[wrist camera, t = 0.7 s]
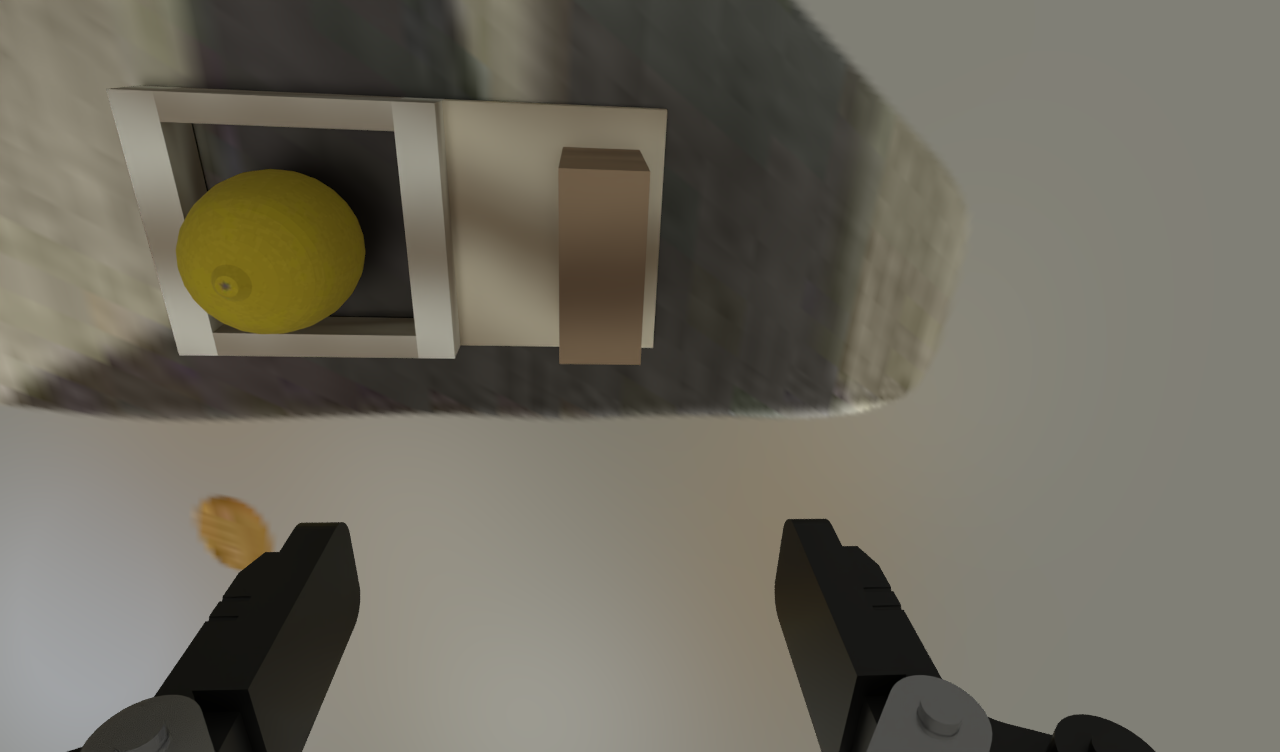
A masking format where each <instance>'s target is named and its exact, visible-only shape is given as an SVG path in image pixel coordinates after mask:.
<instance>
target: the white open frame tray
mask: <svg viewBox="0 0 1280 752" xmlns="http://www.w3.org/2000/svg"><path fill="white" fill-rule="evenodd" d="M106 91H107V95H108V98H109V102H110V106H111V109H112V113H113V116H114V120H115V124H116V127H117V131H118V135H119V138H120V142H121V145H122V149H123V153H124V156H125V160H126V164H127V167H128V171H129V174H130V178H131V182H132V185H133V189H134V193H135V196H136V200H137V203H138V207H139V211H140V214H141V218H142V222H143V225H144V229H145V232H146V236H147V240H148V243H149V247H150V251H151V254H152V258H153V262H154V265H155V269H156V272H157V276H158V280H159V283H160V287H161V291H162V294H163V298H164V301H165V305H166V309H167V312H168V316H169V320H170V323H171V327H172V330H173V334H174V338H175V341H176V345H177V349H178V352H179V355H207V356H288V357H370V358H451V359H455V357H456V355H457V352H458V350H459V347H460V345H479V346H551V347H559V364H613V365H640V363H641V348H653V339H654V322H655V305H656V289H657V272H658V256H659V239H660V222H661V206H662V189H663V172H664V156H665V139H666V123H667V110H666V109H659V108H636V107H613V106H591V105H568V104H546V103H523V102H500V101H478V100H455V99H432V98H410V97H387V96H364V95H342V94H319V93H296V92H274V91H251V90H229V89H206V88H183V87H161V86H131V87H121V88H111V89H106ZM191 123H202V124H227V125H252V126H277V127H302V128H327V129H352V130H377V131H394V133H395V142H396V152H397V161H398V171H399V180H400V189H401V199H402V208H403V218H404V227H405V236H406V246H407V255H408V265H409V274H410V284H411V293H412V302H413V312H414V318H376V317H326V318H324V319H323V320H321V321H319V322H318V323H316V324H314V325H312V326H310V327H307V328H303V329H300V330H296V331H292V332H289V333H284V334H256V333H251V332H245V331H241V330H238V329H236V328H233V327H231V326H229V325H226V324H224V323H222V322H220V321H219V320H217V319H215V318H214V317H212V316H211V315H209V314H208V313H206V312H205V311H204V310H203V309H202V308H201V307H200V306H199V305H198V304H197V303H196V302H195V301H194V300H193V298H192V297H191V295H190V294H189V292H188V291H187V289H186V288H185V286H184V284H183V281H182V278H181V276H180V273H179V270H178V267H177V258H176V245H177V240H178V235H179V230H180V227H181V225H182V223H183V222H184V220H185V218H186V216H187V214H188V213H189V211H190V209H191V208H192V206H193V205H194V204H195V203H196V202H197V201H198V200H199V199H200V198H201V197H202V196H203V195H204V194H206V193H207V189H206V185H205V181H204V176H203V172H202V167H201V163H200V159H199V154H198V150H197V146H196V141H195V137H194V133H193V128H192V124H191Z"/></svg>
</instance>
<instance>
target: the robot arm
mask: <svg viewBox="0 0 1280 752" xmlns="http://www.w3.org/2000/svg"><path fill="white" fill-rule="evenodd" d="M775 604H776V611H777V615H778V619H779V622H780V625H781V628H782V631H783V634H784V637H785V640H786V643H787V647H788V649H789V653H790V655H791V659H792V662H793V665H794V668H795V671H796V674H797V677H798V680H799V683H800V687H801V690H802V693H803V696H804V698H805V702H806V705H807V708H808V711H809V714H810V717H811V720H812V723H813V726H814V730H815V733H816V736H817V739H818V742H819V745H820V748H821V751H822V752H1155V751H1154V750H1153V749H1152V748H1151V747H1150V746H1149V745H1148V744H1147V743H1146V742H1144V741H1143V740H1142V739H1141V738H1140V737H1138V736H1137V735H1135V734H1134V733H1132V732H1131V731H1129V730H1128V729H1126V728H1124V727H1122V726H1120V725H1118V724H1116V723H1114V722H1112V721H1110V720H1107V719H1103V718H1101V717H1097V716H1092V715H1084V714H1082V715H1072V716H1068V717H1066V718H1064V719H1062V720H1061V721H1060V722H1059V723H1058V725H1057V727H1056V729H1055V731H1054V733H1053V735H1050V734H1045V733H1042V732H1038V731H1034V730H1030V729H1026V728H1022V727H1018V726H1014V725H1010V724H1006V723H1003V722H1000V721H997V720H994V719H992V718H989V717H987V715H986V713H985V711H984V710H983V709H982V708H981V706H980V705H979V704H978V703H977V702H976V700H975V699H974V698H973V697H971V696H970V695H969V694H968V693H967V692H965V691H964V690H962V689H961V688H959V687H958V686H956V685H954V684H952V683H950V682H948V681H946V680H943V679H942V678H941V677H940V675H939V673H938V671H937V669H936V667H935V666H934V664H933V662H932V660H931V658H930V657H929V655H928V653H927V651H926V650H925V648H924V646H923V644H922V642H921V641H920V639H919V637H918V635H917V633H916V631H915V630H914V628H913V626H912V624H911V622H910V621H909V619H908V617H907V615H906V613H905V612H904V610H901V604H900V603H899V601H898V599H897V597H896V595H895V594H894V592H893V591H891V587H890V584H889V583H888V581H887V579H886V577H885V576H884V574H883V572H882V570H881V568H880V566H879V565H878V564H877V563H876V562H875V561H873V560H872V559H871V558H870V557H869V556H868V555H867V554H866V553H864V552H863V551H862V550H861V549H860V548H859V547H858V546H842V545H841V543H840V541H839V539H838V537H837V535H836V533H835V531H834V529H833V527H832V525H831V523H830V522H829V521H828V520H827V519H788V520H786V522H785V524H784V528H783V534H782V540H781V547H780V553H779V560H778V566H777V573H776V579H775ZM359 606H360V587H359V582H358V575H357V570H356V565H355V559H354V554H353V549H352V543H351V538H350V533H349V529H348V527H347V525H346V524H345V523H343V522H340V523H339V522H338V523H337V522H334V523H333V522H331V523H300V524H298V525H297V526H296V527H295V529H294V530H293V531H292V533H291V534H290V536H289V538H288V539H287V541H286V543H285V544H284V546H283V547H282V549H281V550H280V552H265V553H264V554H262V555H261V556H260V557H259V558H257V559H256V560H255V561H254V562H252V563H251V564H250V565H248V566H247V567H246V568H245V569H243V570H242V571H241V572H240V573H239V574H238V575H237V576H236V578H235V579H234V581H233V582H232V584H231V585H230V587H229V588H228V590H227V591H226V593H225V594H224V595H223V600H222V602H221V601H220V602H219V603H218V604H217V606H216V607H215V609H214V610H213V612H212V613H211V614H210V616H209V621H207V622H205V623H204V625H203V626H202V628H201V629H200V630H199V632H198V633H197V635H196V636H195V638H194V639H193V641H192V642H191V644H190V645H189V647H188V648H187V649H186V651H185V653H184V654H183V655H182V657H181V658H180V660H179V661H178V663H177V664H176V665H175V667H174V668H173V670H172V671H171V673H170V674H169V676H168V677H167V679H166V680H165V682H164V683H163V685H162V686H161V687H160V689H159V690H158V692H157V693H156V695H155V696H154V697H153V698H149V699H146V700H143V701H141V702H138V703H136V704H134V705H131V706H129V707H127V708H125V709H123V710H122V711H120V712H119V713H117V714H115V715H114V716H112V717H111V718H110V719H108V720H107V721H106V722H105V723H103V724H102V725H101V726H100V727H99V728H98V729H97V730H96V731H95V732H94V733H93V734H92V735H91V736H90V737H89V738H88V740H87V741H86V743H85V744H84V746H83V747H81V748H78V749H75V750H71V751H68V752H302V750H303V748H304V746H305V743H306V741H307V738H308V736H309V734H310V731H311V729H312V726H313V724H314V721H315V719H316V717H317V715H318V712H319V710H320V707H321V705H322V703H323V700H324V698H325V696H326V693H327V691H328V688H329V686H330V684H331V681H332V679H333V677H334V674H335V672H336V669H337V667H338V665H339V662H340V660H341V657H342V655H343V653H344V650H345V648H346V646H347V643H348V641H349V638H350V636H351V633H352V631H353V629H354V626H355V624H356V621H357V617H358V613H359Z"/></svg>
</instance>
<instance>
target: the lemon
mask: <svg viewBox="0 0 1280 752" xmlns="http://www.w3.org/2000/svg"><path fill="white" fill-rule="evenodd" d="M176 258H177V267H178V270H179V273H180V276H181V278H182V281H183V284H184V286H185V288H186V289H187V291H188V292H189V294H190V295H191V297H192V298H193V300H194V301H195V302H196V303H197V304H198V305H199V306H200V307H201V308H202V309H203V310H204V311H205V312H206V313H208V314H209V315H211V316H212V317H214V318H215V319H217V320H219V321H220V322H222V323H224V324H226V325H229V326H231V327H233V328H236V329H238V330H241V331H245V332H251V333H256V334H284V333H289V332H292V331H296V330H300V329H303V328H307V327H310V326H312V325H314V324H316V323H318V322H319V321H321V320H323V319H324V318H326V317H328V316H329V315H331V314H333V313H334V312H335V311H337V310H338V309H339V308H340V307H341V305H342V304H343V303H344V302H345V301H346V300H347V299H348V298H349V297H350V296H351V294H352V293H353V291H354V289H355V287H356V285H357V283H358V281H359V279H360V277H361V275H362V272H363V266H364V259H365V245H364V236H363V233H362V230H361V227H360V225H359V222H358V220H357V217H356V216H355V214H354V213H353V211H352V210H351V208H350V207H349V205H348V204H347V203H346V202H345V201H344V200H343V199H342V198H341V197H340V196H339V195H338V194H337V193H336V192H335V191H334V190H333V189H331V188H330V187H328V186H326V185H325V184H323V183H322V182H320V181H318V180H317V179H315V178H312V177H309V176H306V175H304V174H301V173H298V172H294V171H286V170H277V169H265V170H258V171H251V172H244V173H241V174H238V175H236V176H233V177H231V178H229V179H227V180H225V181H222V182H220V183H218V184H216V185H215V186H214V187H212V188H211V189H210V190H209V191H208V192H207V193H206V194H204V195H203V196H202V197H201V198H200V199H199V200H198V201H197V202H196V203H195V204H194V205H193V206H192V208H191V209H190V211H189V213H188V214H187V216H186V218H185V220H184V222H183V223H182V225H181V227H180V230H179V235H178V240H177V245H176Z"/></svg>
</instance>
